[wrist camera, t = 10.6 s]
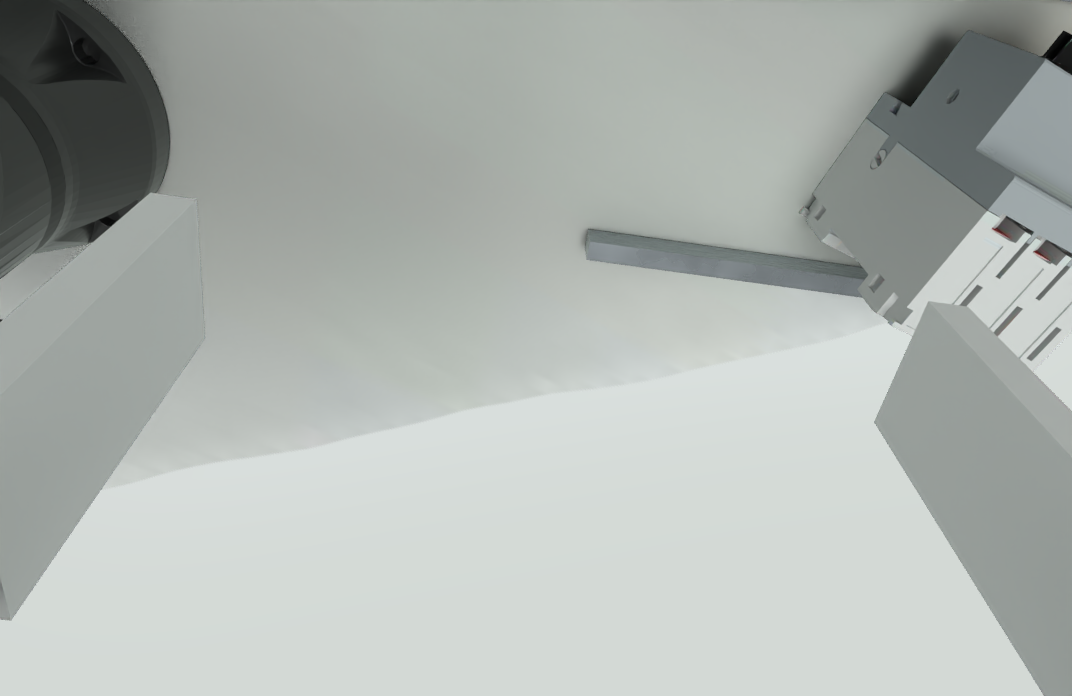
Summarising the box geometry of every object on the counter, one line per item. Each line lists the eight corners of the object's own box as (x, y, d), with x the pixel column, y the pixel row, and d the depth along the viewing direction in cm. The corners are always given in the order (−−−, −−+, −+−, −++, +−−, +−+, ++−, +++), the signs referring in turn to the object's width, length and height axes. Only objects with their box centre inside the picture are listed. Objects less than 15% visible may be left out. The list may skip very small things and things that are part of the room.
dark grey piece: (585, 246, 51) (602, 408, 36) (657, -136, 41) (726, -141, 25) (963, 299, 53) (1136, 475, 38) (1126, -57, 43) (1460, -16, 27)
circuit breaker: (1062, 54, 45) (1269, 127, 32) (895, 263, 52) (1012, 393, 39) (958, -12, 44) (1132, 37, 31) (799, 212, 50) (887, 330, 37)
